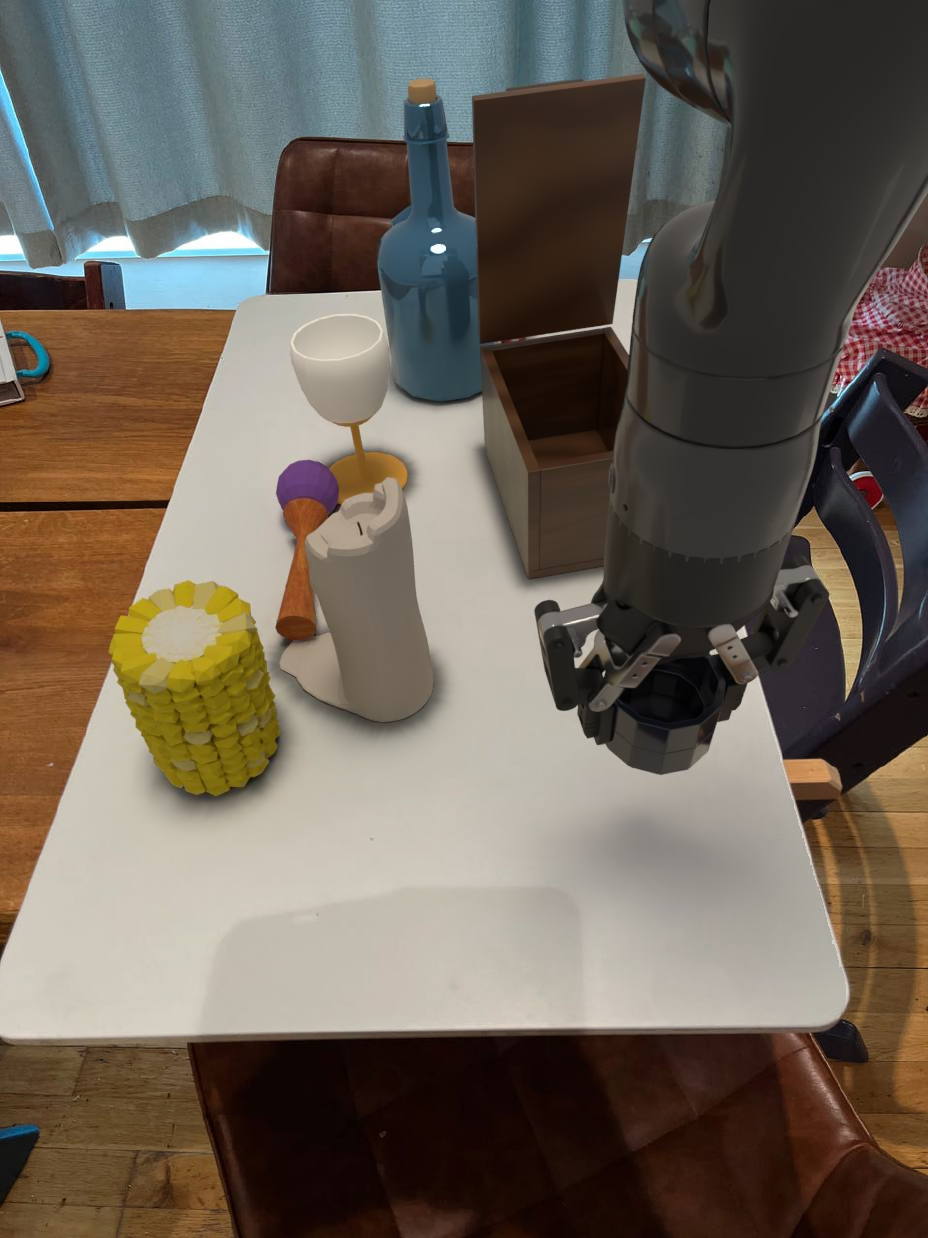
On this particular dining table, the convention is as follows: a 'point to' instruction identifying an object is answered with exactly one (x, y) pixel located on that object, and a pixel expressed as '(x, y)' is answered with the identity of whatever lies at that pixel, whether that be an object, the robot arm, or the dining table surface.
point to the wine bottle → (431, 267)
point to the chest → (554, 442)
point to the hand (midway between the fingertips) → (656, 719)
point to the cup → (347, 390)
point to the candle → (365, 612)
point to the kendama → (303, 539)
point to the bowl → (669, 716)
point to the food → (197, 685)
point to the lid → (552, 203)
